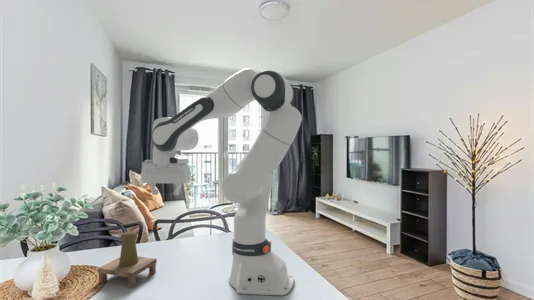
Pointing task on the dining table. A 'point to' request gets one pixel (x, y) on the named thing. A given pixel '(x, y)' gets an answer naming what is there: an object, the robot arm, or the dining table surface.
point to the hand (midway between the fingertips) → (165, 194)
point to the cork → (128, 249)
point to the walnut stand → (127, 270)
